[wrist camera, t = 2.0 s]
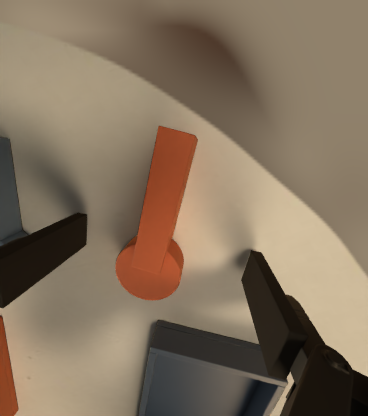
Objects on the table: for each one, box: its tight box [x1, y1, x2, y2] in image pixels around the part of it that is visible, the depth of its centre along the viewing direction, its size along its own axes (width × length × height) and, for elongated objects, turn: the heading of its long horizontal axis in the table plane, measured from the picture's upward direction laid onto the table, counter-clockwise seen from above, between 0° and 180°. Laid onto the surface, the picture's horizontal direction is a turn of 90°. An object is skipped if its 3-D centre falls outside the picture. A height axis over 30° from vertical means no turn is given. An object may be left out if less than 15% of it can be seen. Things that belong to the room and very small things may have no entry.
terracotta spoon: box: [115, 126, 198, 300], centre depth 13 cm, size 12×5×3 cm, turn 166°
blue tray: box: [138, 320, 288, 416], centre depth 18 cm, size 17×11×3 cm, turn 170°
